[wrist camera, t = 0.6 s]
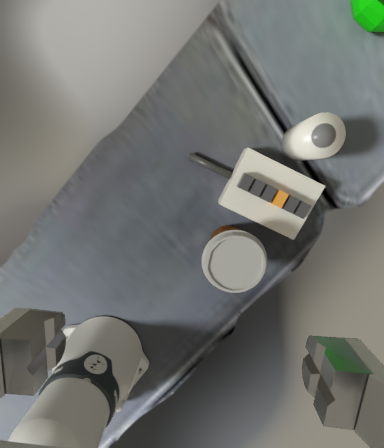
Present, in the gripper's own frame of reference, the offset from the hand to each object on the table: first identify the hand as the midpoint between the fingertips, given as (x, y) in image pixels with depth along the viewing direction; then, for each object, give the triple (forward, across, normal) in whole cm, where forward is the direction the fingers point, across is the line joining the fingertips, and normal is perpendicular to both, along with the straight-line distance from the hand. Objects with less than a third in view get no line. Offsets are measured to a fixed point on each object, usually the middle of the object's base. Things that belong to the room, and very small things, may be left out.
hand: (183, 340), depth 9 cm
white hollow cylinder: (+40, -16, -11) cm, 44 cm away
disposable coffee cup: (+40, -5, +8) cm, 41 cm away
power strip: (+39, -8, -3) cm, 40 cm away
